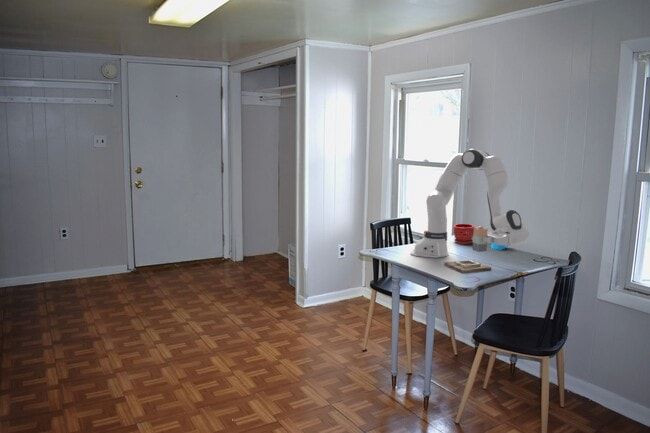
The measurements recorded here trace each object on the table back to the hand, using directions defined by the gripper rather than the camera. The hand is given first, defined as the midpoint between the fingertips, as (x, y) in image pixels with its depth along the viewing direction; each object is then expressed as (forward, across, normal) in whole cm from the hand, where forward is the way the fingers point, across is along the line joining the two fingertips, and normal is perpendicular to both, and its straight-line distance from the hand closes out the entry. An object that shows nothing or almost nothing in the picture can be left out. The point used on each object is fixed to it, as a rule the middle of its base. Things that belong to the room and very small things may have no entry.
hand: (478, 238), depth 271 cm
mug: (-48, -43, +19) cm, 67 cm away
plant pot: (-35, -64, +19) cm, 76 cm away
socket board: (-1, -11, +19) cm, 22 cm away
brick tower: (-1, 0, +6) cm, 7 cm away
